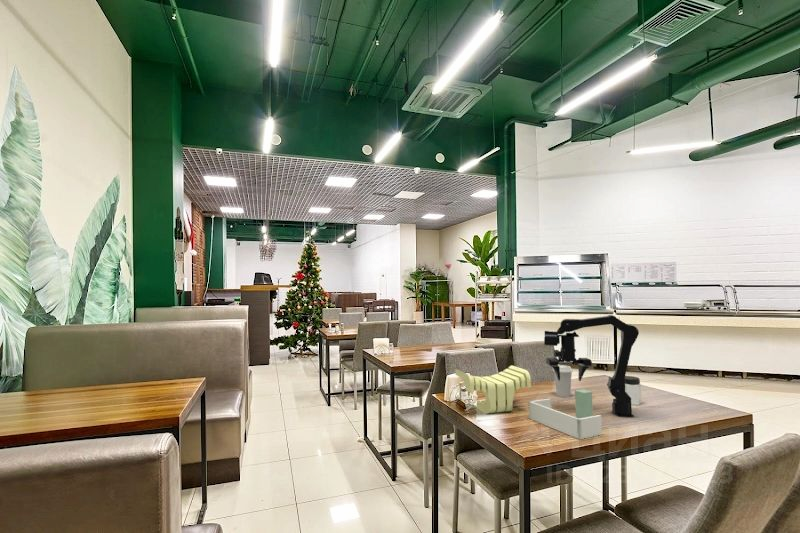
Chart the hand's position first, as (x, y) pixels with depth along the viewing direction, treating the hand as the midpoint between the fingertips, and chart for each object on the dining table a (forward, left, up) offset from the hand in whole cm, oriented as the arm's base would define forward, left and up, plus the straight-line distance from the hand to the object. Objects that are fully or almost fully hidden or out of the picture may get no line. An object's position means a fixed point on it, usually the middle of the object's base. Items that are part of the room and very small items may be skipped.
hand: (569, 380), depth 174 cm
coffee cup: (-5, -24, -13) cm, 28 cm away
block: (0, +17, -13) cm, 21 cm away
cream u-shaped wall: (+10, +22, -13) cm, 27 cm away
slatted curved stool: (+35, +1, -13) cm, 37 cm away
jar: (-33, -13, -13) cm, 38 cm away
